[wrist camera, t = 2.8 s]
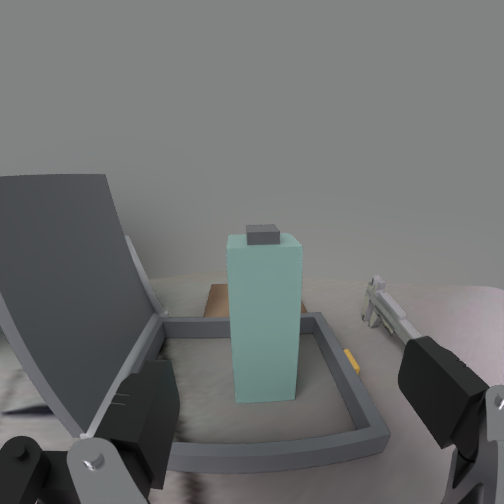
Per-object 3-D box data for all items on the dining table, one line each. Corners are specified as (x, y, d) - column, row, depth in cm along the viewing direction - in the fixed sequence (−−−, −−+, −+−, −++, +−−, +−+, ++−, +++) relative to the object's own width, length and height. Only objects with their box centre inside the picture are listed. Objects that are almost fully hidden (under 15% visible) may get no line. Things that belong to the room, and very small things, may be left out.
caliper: (360, 321, 32) (366, 272, 31) (368, 320, 32) (374, 271, 31) (470, 433, 12) (505, 366, 11) (478, 427, 13) (512, 360, 11)
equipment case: (40, 439, 13) (-42, 183, 8) (117, 327, 31) (98, 176, 27) (390, 449, 13) (453, 147, 9) (322, 323, 32) (327, 164, 28)
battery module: (235, 403, 20) (225, 235, 17) (235, 369, 24) (228, 224, 21) (294, 399, 20) (302, 233, 17) (286, 367, 24) (289, 222, 21)
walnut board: (203, 329, 31) (202, 321, 31) (212, 290, 43) (211, 284, 43) (308, 324, 32) (309, 316, 32) (291, 287, 43) (291, 281, 43)
